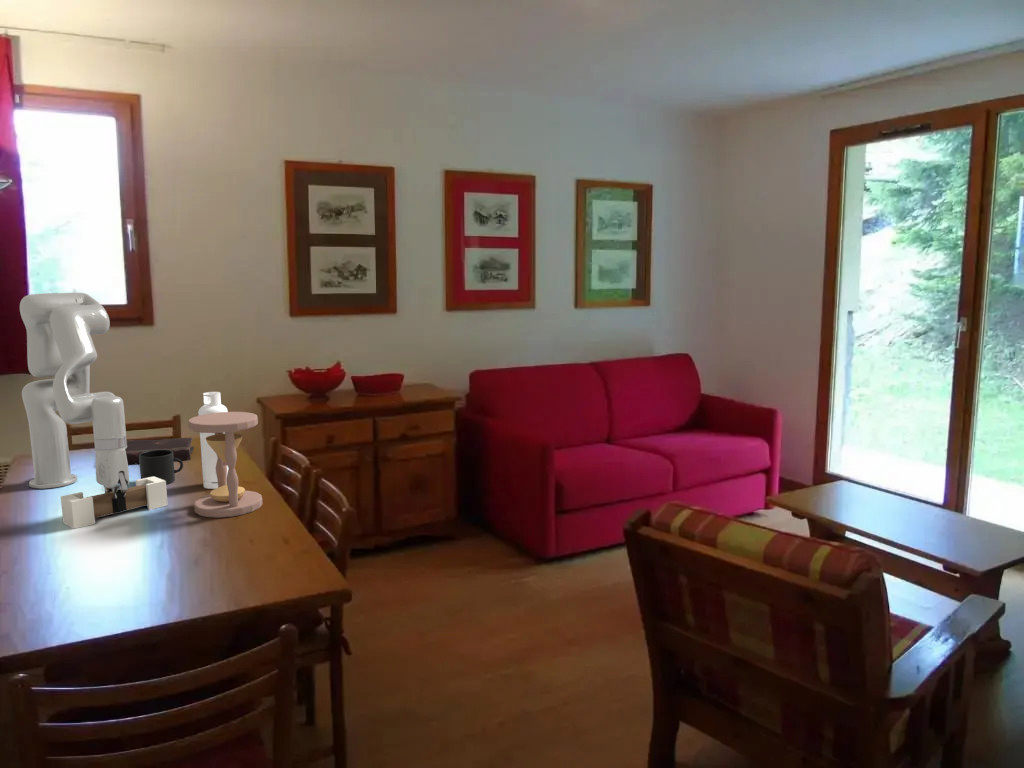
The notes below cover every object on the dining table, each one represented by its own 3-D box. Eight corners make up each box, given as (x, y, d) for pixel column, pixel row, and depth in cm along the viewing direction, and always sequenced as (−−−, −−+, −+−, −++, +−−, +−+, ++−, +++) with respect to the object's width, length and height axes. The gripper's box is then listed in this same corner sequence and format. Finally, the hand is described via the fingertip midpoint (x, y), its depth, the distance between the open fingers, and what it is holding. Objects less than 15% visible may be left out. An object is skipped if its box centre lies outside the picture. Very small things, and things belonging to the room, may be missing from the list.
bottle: (197, 487, 229) (190, 394, 224) (217, 479, 236) (211, 390, 231) (218, 490, 226) (212, 396, 221) (237, 482, 233) (232, 391, 228)
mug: (184, 483, 232) (182, 454, 231) (140, 488, 228) (137, 458, 226) (184, 475, 241) (182, 447, 239) (142, 479, 236) (139, 451, 235)
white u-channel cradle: (63, 522, 198) (60, 496, 197) (155, 500, 216) (153, 476, 215) (74, 528, 194) (71, 501, 192) (167, 505, 212) (165, 480, 211)
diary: (190, 462, 259) (189, 448, 258) (108, 469, 251) (106, 454, 250) (193, 448, 277) (192, 435, 276) (116, 454, 269) (115, 440, 268)
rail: (81, 517, 200) (79, 498, 199) (144, 501, 212) (143, 484, 211) (86, 520, 198) (85, 501, 197) (150, 504, 210) (149, 486, 209)
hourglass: (195, 501, 215) (189, 414, 211) (260, 494, 221) (256, 409, 217) (193, 521, 199) (186, 427, 195) (264, 513, 205) (259, 421, 201)
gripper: (82, 441, 204) (89, 507, 207) (109, 451, 194) (115, 520, 197) (112, 436, 210) (117, 500, 213) (139, 445, 199) (144, 513, 202)
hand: (116, 509), depth 205 cm, fingers closed on rail, 3 cm apart
